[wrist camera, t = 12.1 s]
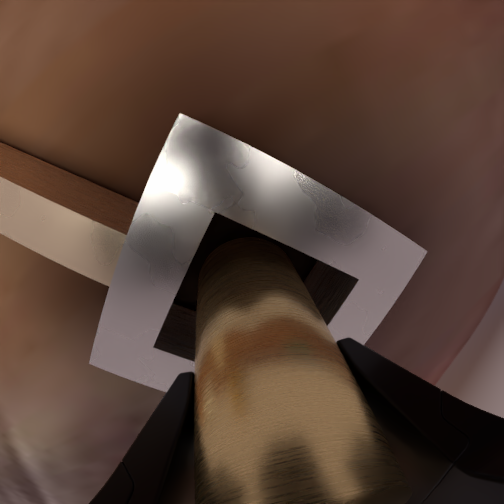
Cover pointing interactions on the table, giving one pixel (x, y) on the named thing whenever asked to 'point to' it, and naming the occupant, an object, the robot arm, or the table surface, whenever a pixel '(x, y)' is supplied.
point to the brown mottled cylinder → (278, 393)
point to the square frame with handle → (198, 242)
